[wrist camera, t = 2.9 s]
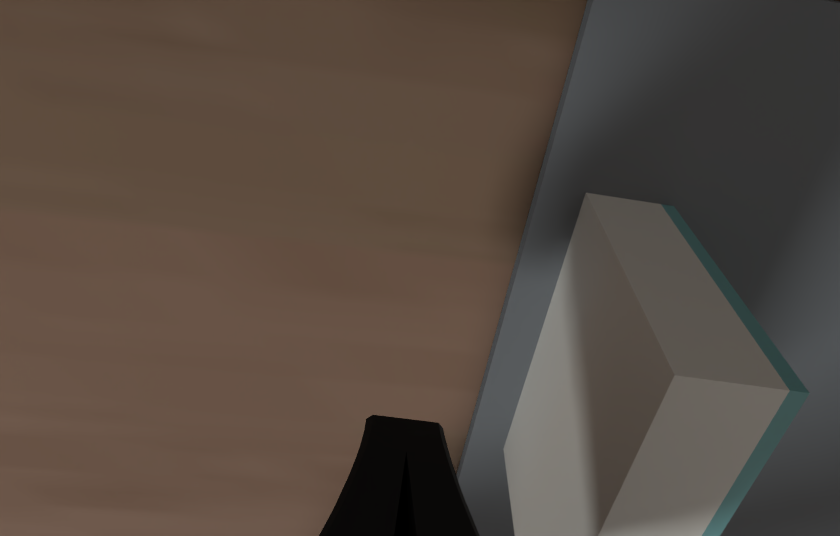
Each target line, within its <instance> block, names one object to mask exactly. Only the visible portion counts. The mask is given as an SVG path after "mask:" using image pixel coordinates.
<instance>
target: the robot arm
mask: <svg viewBox="0 0 840 536" xmlns="http://www.w3.org/2000/svg"><path fill="white" fill-rule="evenodd" d="M319 536H480V535H479V533H478V530H477V528H476V526H475V523H474V521H473V518H472V516H471V513H470V511H469V508H468V506H467V504H466V501H465V498H464V496H463V493H462V490H461V488H460V485H459V482H458V479H457V476H456V473H455V470H454V467H453V464H452V461H451V458H450V455H449V451H448V448H447V444H446V440H445V436H444V431H443V428H442V427H441V425H440V424H439V423H435V422H427V421H419V420H411V419H403V418H394V417H386V416H378V415H372V416H370V417H369V418H367V419H366V424H365V430H364V434H363V438H362V442H361V445H360V448H359V451H358V454H357V457H356V459H355V462H354V464H353V467H352V469H351V472H350V474H349V477H348V479H347V481H346V483H345V485H344V487H343V490H342V492H341V494H340V496H339V498H338V501H337V503H336V505H335V507H334V509H333V511H332V513H331V515H330V517H329V518H328V520H327V522H326V524H325V526H324V528H323V529H322V531H321V533H320V535H319Z"/></svg>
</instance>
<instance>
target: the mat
mask: <svg viewBox="0 0 840 536" xmlns="http://www.w3.org/2000/svg"><path fill="white" fill-rule="evenodd" d="M586 193H592V194H598V195H605V196H611V197H618V198H624V199H631V200H637V201H644V202H650V203H657V204H663V205H670V206H674V207H675V208H676V210H677V211H678V212H679V214H680V215H681V217H682V218H683V219H684V221H685V222H686V223H687V225H688V226H689V228H690V229H691V230H692V232H693V233H694V234H695V236H696V237H697V239H698V240H699V241H700V243H701V244H702V246H703V247H704V248H705V250H706V251H707V252H708V254H709V255H710V257H711V258H712V259H713V261H714V262H715V263H716V265H717V266H718V268H719V269H720V270H721V272H722V273H723V274H724V276H725V277H726V279H727V280H728V281H729V283H730V284H731V285H732V287H733V288H734V290H735V291H736V292H737V294H738V295H739V296H740V298H741V299H742V301H743V302H744V303H745V305H746V306H747V308H748V309H749V310H750V312H751V313H752V314H753V316H754V317H755V319H756V320H757V321H758V323H759V324H760V325H761V327H762V328H763V330H764V331H765V332H766V334H767V335H768V336H769V338H770V339H771V341H772V342H773V343H774V345H775V346H776V347H777V349H778V350H779V352H780V353H781V354H782V356H783V357H784V358H785V360H786V361H787V363H788V364H789V365H790V367H791V368H792V370H793V371H794V372H795V374H796V375H797V376H798V378H799V379H800V381H801V382H802V383H803V385H804V386H805V387H806V389H807V390H808V392H809V393H810V394H809V395H808V397H807V398H806V400H805V402H804V403H803V405H802V406H801V408H800V410H799V411H798V413H797V414H796V416H795V417H794V419H793V421H792V422H791V424H790V425H789V427H788V429H787V430H786V432H785V433H784V435H783V437H782V438H781V440H780V441H779V443H778V445H777V446H776V448H775V449H774V451H773V452H772V454H771V456H770V457H769V459H768V460H767V462H766V464H765V465H764V467H763V468H762V470H761V472H760V473H759V475H758V476H757V478H756V479H755V481H754V483H753V484H752V486H751V487H750V489H749V491H748V492H747V494H746V495H745V497H744V499H743V500H742V502H741V503H740V505H739V506H738V508H737V510H736V511H735V513H734V514H733V516H732V518H731V519H730V521H729V522H728V524H727V526H726V527H725V529H724V530H723V532H722V533H721V535H720V536H840V1H834V0H588V1H587V5H586V8H585V12H584V16H583V19H582V23H581V26H580V30H579V34H578V37H577V41H576V44H575V48H574V52H573V55H572V59H571V63H570V66H569V70H568V73H567V77H566V81H565V84H564V88H563V91H562V95H561V99H560V102H559V106H558V109H557V113H556V117H555V120H554V124H553V128H552V131H551V135H550V138H549V142H548V146H547V149H546V153H545V156H544V160H543V164H542V167H541V171H540V175H539V178H538V182H537V185H536V189H535V193H534V196H533V200H532V203H531V207H530V211H529V214H528V218H527V222H526V225H525V229H524V232H523V236H522V240H521V243H520V247H519V250H518V254H517V258H516V261H515V265H514V269H513V272H512V276H511V279H510V283H509V287H508V290H507V294H506V297H505V301H504V305H503V308H502V312H501V316H500V319H499V323H498V326H497V330H496V334H495V337H494V341H493V344H492V348H491V352H490V355H489V359H488V363H487V366H486V370H485V373H484V377H483V381H482V384H481V388H480V391H479V395H478V399H477V402H476V406H475V410H474V413H473V417H472V420H471V424H470V428H469V431H468V435H467V438H466V442H465V446H464V449H463V453H462V457H461V460H460V464H459V467H458V471H457V475H456V476H457V479H458V482H459V485H460V488H461V490H462V493H463V496H464V498H465V501H466V504H467V506H468V508H469V511H470V513H471V516H472V518H473V521H474V523H475V526H476V528H477V530H478V533H479V535H480V536H515V534H514V527H513V519H512V511H511V504H510V496H509V488H508V481H507V473H506V465H505V458H504V450H503V449H504V446H505V442H506V439H507V436H508V433H509V430H510V427H511V424H512V421H513V418H514V414H515V411H516V408H517V405H518V402H519V399H520V396H521V393H522V390H523V386H524V383H525V380H526V377H527V374H528V371H529V368H530V365H531V362H532V359H533V355H534V352H535V349H536V346H537V343H538V340H539V337H540V334H541V331H542V327H543V324H544V321H545V318H546V315H547V312H548V309H549V306H550V303H551V299H552V296H553V293H554V290H555V287H556V284H557V281H558V278H559V275H560V271H561V268H562V265H563V262H564V259H565V256H566V253H567V250H568V247H569V244H570V240H571V237H572V234H573V231H574V228H575V225H576V222H577V219H578V216H579V212H580V209H581V206H582V203H583V200H584V197H585V194H586Z"/></svg>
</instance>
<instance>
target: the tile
mask: <svg viewBox="0 0 840 536" xmlns="http://www.w3.org/2000/svg"><path fill="white" fill-rule="evenodd" d="M809 394H810V393H809V392H808V390H807V389H806V387H805V386H804V385H803V383H802V382H801V381H800V379H799V378H798V376H797V375H796V374H795V372H794V371H793V370H792V368H791V367H790V365H789V364H788V363H787V361H786V360H785V358H784V357H783V356H782V354H781V353H780V352H779V350H778V349H777V347H776V346H775V345H774V343H773V342H772V341H771V339H770V338H769V336H768V335H767V334H766V332H765V331H764V330H763V328H762V327H761V325H760V324H759V323H758V321H757V320H756V319H755V317H754V316H753V314H752V313H751V312H750V310H749V309H748V308H747V306H746V305H745V303H744V302H743V301H742V299H741V298H740V296H739V295H738V294H737V292H736V291H735V290H734V288H733V287H732V285H731V284H730V283H729V281H728V280H727V279H726V277H725V276H724V274H723V273H722V272H721V270H720V269H719V268H718V266H717V265H716V263H715V262H714V261H713V259H712V258H711V257H710V255H709V254H708V252H707V251H706V250H705V248H704V247H703V246H702V244H701V243H700V241H699V240H698V239H697V237H696V236H695V234H694V233H693V232H692V230H691V229H690V228H689V226H688V225H687V223H686V222H685V221H684V219H683V218H682V217H681V215H680V214H679V212H678V211H677V210H676V208H675V207H674V206H670V205H663V204H657V203H650V202H644V201H637V200H631V199H624V198H618V197H611V196H605V195H598V194H592V193H586V194H585V197H584V200H583V203H582V206H581V209H580V212H579V216H578V219H577V222H576V225H575V228H574V231H573V234H572V237H571V240H570V244H569V247H568V250H567V253H566V256H565V259H564V262H563V265H562V268H561V271H560V275H559V278H558V281H557V284H556V287H555V290H554V293H553V296H552V299H551V303H550V306H549V309H548V312H547V315H546V318H545V321H544V324H543V327H542V331H541V334H540V337H539V340H538V343H537V346H536V349H535V352H534V355H533V359H532V362H531V365H530V368H529V371H528V374H527V377H526V380H525V383H524V386H523V390H522V393H521V396H520V399H519V402H518V405H517V408H516V411H515V414H514V418H513V421H512V424H511V427H510V430H509V433H508V436H507V439H506V442H505V446H504V449H503V450H504V458H505V465H506V473H507V481H508V488H509V496H510V504H511V511H512V519H513V527H514V534H515V536H720V535H721V533H722V532H723V530H724V529H725V527H726V526H727V524H728V522H729V521H730V519H731V518H732V516H733V514H734V513H735V511H736V510H737V508H738V506H739V505H740V503H741V502H742V500H743V499H744V497H745V495H746V494H747V492H748V491H749V489H750V487H751V486H752V484H753V483H754V481H755V479H756V478H757V476H758V475H759V473H760V472H761V470H762V468H763V467H764V465H765V464H766V462H767V460H768V459H769V457H770V456H771V454H772V452H773V451H774V449H775V448H776V446H777V445H778V443H779V441H780V440H781V438H782V437H783V435H784V433H785V432H786V430H787V429H788V427H789V425H790V424H791V422H792V421H793V419H794V417H795V416H796V414H797V413H798V411H799V410H800V408H801V406H802V405H803V403H804V402H805V400H806V398H807V397H808V395H809Z"/></svg>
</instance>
